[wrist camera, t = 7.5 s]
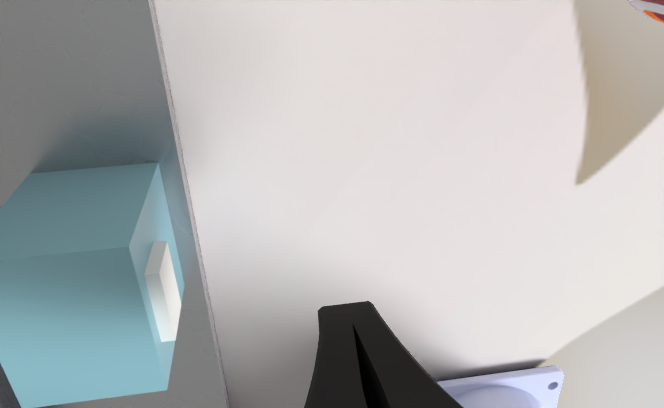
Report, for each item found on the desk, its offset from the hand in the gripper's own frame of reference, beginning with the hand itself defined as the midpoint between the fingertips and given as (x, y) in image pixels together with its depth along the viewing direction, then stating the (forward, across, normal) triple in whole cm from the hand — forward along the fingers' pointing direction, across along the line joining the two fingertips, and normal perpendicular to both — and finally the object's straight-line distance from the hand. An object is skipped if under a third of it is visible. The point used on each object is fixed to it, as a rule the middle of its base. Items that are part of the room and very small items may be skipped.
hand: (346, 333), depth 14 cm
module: (+6, +7, 0) cm, 9 cm away
